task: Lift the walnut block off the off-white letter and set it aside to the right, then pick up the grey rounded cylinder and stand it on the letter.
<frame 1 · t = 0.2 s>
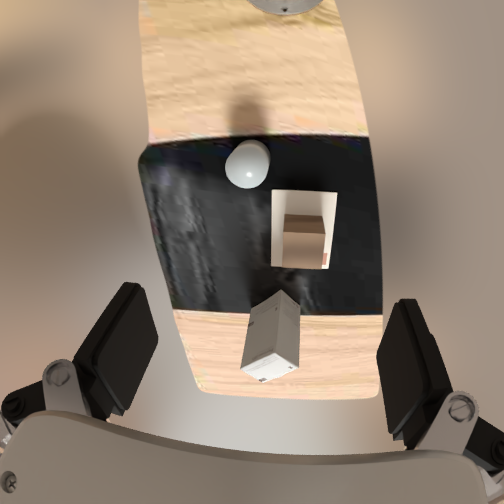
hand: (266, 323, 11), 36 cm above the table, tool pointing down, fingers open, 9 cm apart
walnut block: (302, 231, 49), resting on letter
skincare box: (275, 307, 59), on the table
letter: (302, 231, 49), on the table
grey rounded cylinder: (251, 157, 44), on the table
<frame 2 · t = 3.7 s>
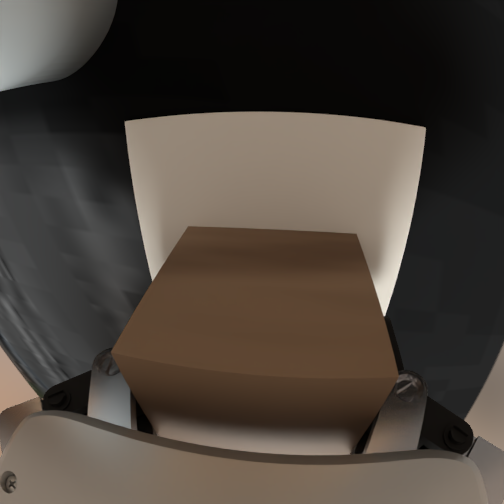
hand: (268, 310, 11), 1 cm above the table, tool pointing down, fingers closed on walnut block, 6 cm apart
walnut block: (269, 296, 12), resting on letter, touching gripper
letter: (270, 293, 12), on the table
grey rounded cylinder: (61, 18, 7), on the table
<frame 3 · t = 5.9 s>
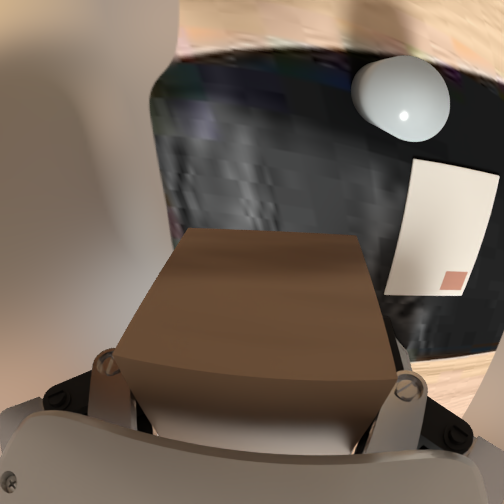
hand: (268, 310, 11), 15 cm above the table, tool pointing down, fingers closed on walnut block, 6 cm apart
walnut block: (270, 298, 12), point 15 cm above the table, touching gripper
letter: (444, 236, 25), on the table
grey rounded cylinder: (384, 94, 19), on the table
when the fingers open (2 cm above the table, at t = 8.3 s): walnut block drops 2 cm, on the table.
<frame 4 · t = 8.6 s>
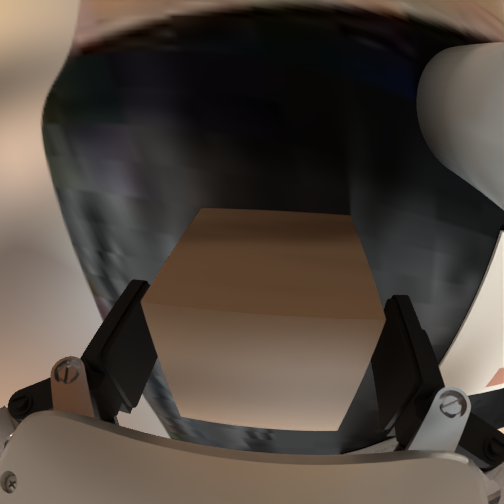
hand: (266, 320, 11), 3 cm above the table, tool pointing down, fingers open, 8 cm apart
walnut block: (273, 272, 14), on the table
skincare box: (384, 448, 23), on the table
grey rounded cylinder: (473, 112, 8), on the table
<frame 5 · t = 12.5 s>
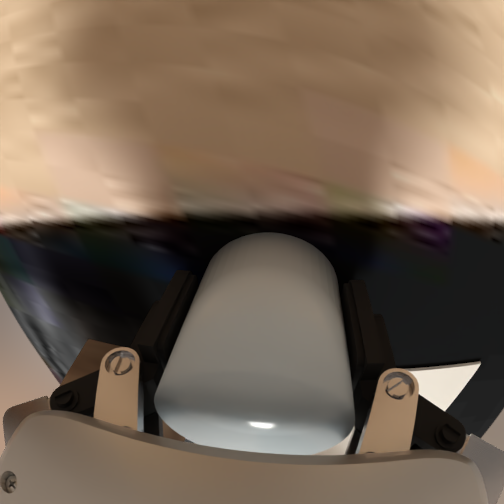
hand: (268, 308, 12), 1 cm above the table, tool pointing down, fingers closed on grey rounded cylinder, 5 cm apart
walnut block: (142, 377, 17), on the table
letter: (377, 425, 18), on the table
grey rounded cylinder: (270, 292, 12), on the table, touching gripper
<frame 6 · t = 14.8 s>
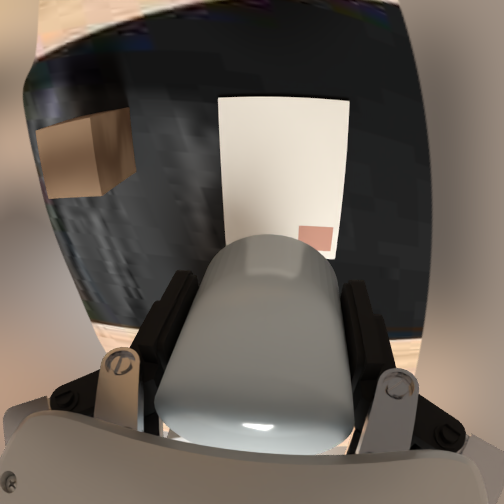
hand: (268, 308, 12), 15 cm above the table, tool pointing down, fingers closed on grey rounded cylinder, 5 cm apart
walnut block: (105, 142, 24), on the table
letter: (282, 181, 24), on the table
grey rounded cylinder: (270, 294, 12), point 14 cm above the table, touching gripper
when the fingers open (2 cm above the table, at t = 17.5 s): grey rounded cylinder drops 1 cm, resting on letter.
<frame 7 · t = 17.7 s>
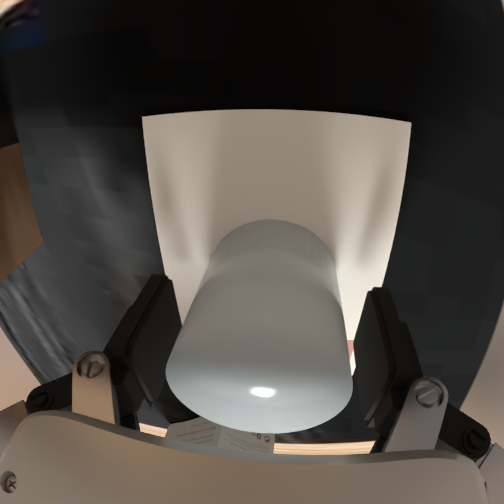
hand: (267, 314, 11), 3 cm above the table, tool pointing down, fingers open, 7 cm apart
walnut block: (3, 197, 13), on the table
skincare box: (220, 428, 23), on the table
letter: (272, 274, 13), on the table
grey rounded cylinder: (272, 277, 13), resting on letter
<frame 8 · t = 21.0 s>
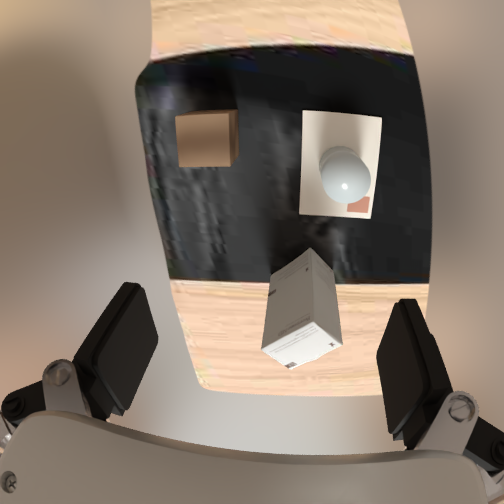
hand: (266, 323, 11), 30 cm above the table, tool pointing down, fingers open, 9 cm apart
walnut block: (215, 132, 37), on the table
skincare box: (301, 273, 46), on the table
letter: (339, 166, 37), on the table
grey rounded cylinder: (340, 166, 37), resting on letter
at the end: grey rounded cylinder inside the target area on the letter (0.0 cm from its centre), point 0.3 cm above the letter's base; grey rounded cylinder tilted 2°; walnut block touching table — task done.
